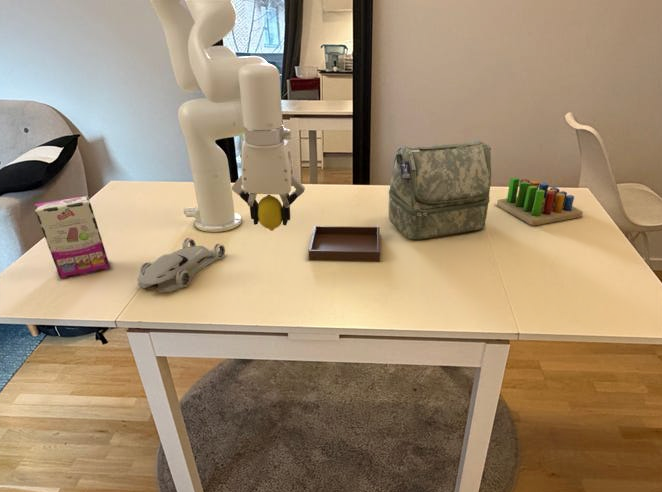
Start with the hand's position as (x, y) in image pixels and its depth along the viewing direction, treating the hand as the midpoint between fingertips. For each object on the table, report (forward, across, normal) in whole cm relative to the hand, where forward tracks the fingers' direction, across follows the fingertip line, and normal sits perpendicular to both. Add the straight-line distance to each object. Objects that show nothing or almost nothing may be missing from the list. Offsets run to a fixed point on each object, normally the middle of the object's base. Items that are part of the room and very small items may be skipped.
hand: (271, 221), depth 118 cm
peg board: (+14, -70, -43) cm, 84 cm away
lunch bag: (+14, -40, -31) cm, 52 cm away
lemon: (+2, 0, 0) cm, 2 cm away
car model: (+14, +22, -1) cm, 26 cm away
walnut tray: (+14, -16, -16) cm, 26 cm away
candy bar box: (+14, +46, -1) cm, 48 cm away
